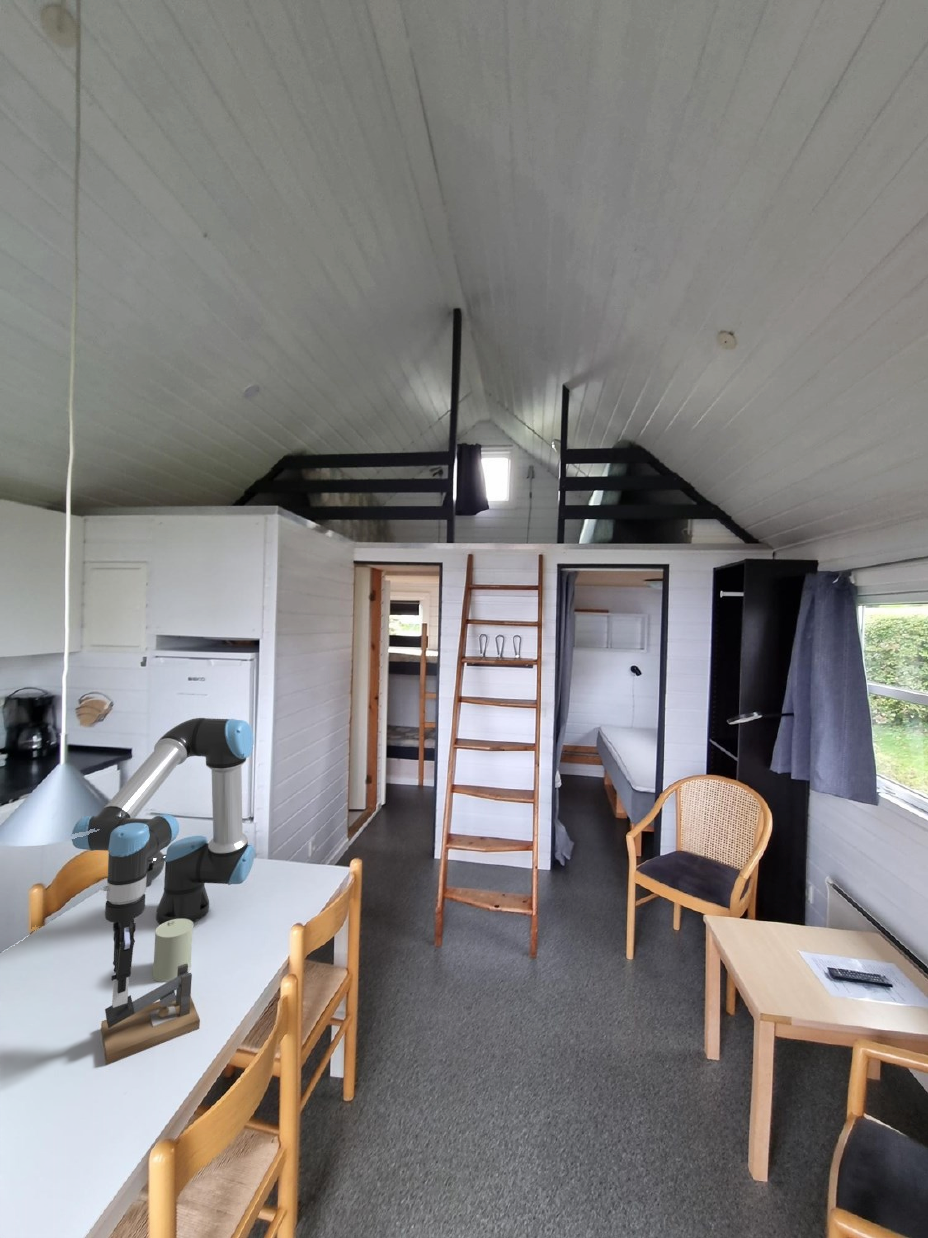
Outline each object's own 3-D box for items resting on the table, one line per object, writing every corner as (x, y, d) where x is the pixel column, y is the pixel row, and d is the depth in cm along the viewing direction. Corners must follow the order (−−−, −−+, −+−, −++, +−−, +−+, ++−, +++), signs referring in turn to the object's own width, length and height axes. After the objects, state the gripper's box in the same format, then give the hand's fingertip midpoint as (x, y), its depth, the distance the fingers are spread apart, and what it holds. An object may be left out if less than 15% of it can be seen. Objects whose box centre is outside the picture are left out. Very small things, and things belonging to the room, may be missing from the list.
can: (184, 956, 149) (187, 913, 149) (195, 972, 142) (198, 927, 142) (147, 969, 142) (150, 924, 143) (157, 987, 136) (160, 939, 136)
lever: (109, 1026, 119) (104, 1009, 118) (190, 980, 129) (186, 964, 128) (111, 1040, 115) (107, 1022, 114) (194, 992, 125) (190, 975, 124)
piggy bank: (124, 877, 192) (126, 845, 193) (170, 874, 196) (172, 843, 196) (112, 892, 181) (114, 858, 182) (160, 888, 185) (162, 855, 185)
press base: (101, 1030, 121) (104, 981, 121) (188, 999, 132) (190, 954, 132) (106, 1065, 111) (109, 1012, 112) (199, 1028, 123) (202, 980, 123)
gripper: (103, 889, 121) (97, 993, 121) (108, 915, 111) (102, 1029, 110) (141, 880, 126) (135, 981, 125) (149, 904, 116) (143, 1014, 115)
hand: (119, 1003), depth 118 cm, fingers closed
